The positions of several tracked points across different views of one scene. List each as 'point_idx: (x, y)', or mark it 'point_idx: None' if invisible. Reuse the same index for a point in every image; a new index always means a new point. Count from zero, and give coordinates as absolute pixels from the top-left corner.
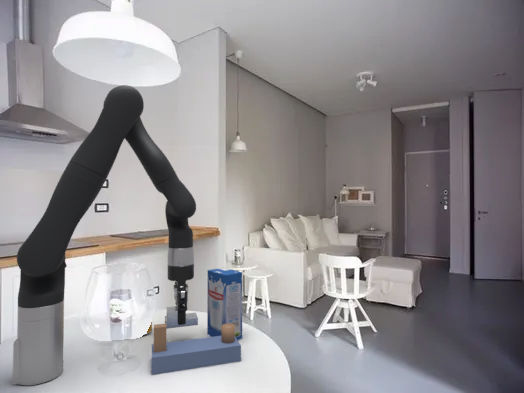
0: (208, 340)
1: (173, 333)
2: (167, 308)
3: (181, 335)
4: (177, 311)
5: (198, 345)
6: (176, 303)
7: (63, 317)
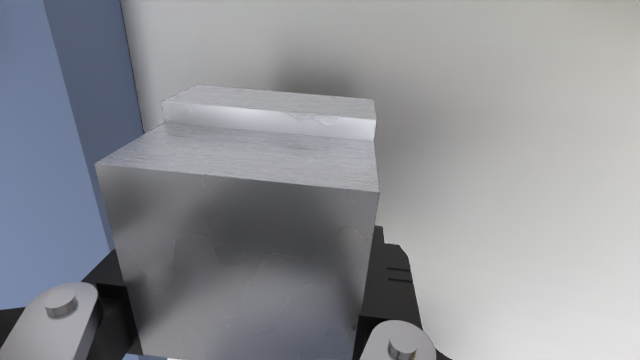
0: None
1: (500, 143)
2: (299, 194)
3: (434, 182)
4: (82, 284)
5: (11, 237)
6: (365, 349)
7: None
